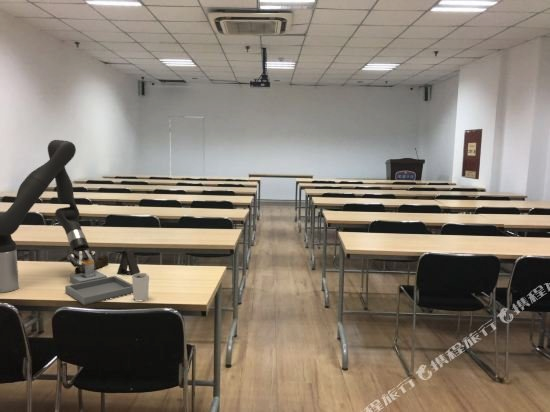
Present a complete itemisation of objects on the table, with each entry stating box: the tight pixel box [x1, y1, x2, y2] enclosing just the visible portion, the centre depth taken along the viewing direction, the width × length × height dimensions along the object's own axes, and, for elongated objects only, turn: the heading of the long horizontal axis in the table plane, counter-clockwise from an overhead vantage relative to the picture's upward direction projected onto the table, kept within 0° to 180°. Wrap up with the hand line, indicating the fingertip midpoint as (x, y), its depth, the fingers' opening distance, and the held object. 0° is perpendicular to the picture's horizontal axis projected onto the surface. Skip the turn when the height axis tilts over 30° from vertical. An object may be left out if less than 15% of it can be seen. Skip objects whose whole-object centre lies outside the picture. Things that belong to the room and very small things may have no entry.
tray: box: [64, 275, 133, 306], centre depth 185 cm, size 22×20×3 cm
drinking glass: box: [131, 272, 150, 301], centre depth 178 cm, size 7×7×10 cm
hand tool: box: [74, 254, 109, 274], centre depth 218 cm, size 23×5×6 cm, turn 163°
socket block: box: [69, 270, 108, 284], centre depth 199 cm, size 12×12×3 cm
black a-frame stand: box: [116, 248, 141, 277], centre depth 213 cm, size 9×6×12 cm, turn 78°
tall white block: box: [82, 259, 95, 278], centre depth 198 cm, size 4×4×10 cm
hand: (89, 271), depth 198 cm, fingers closed on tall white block, 4 cm apart
